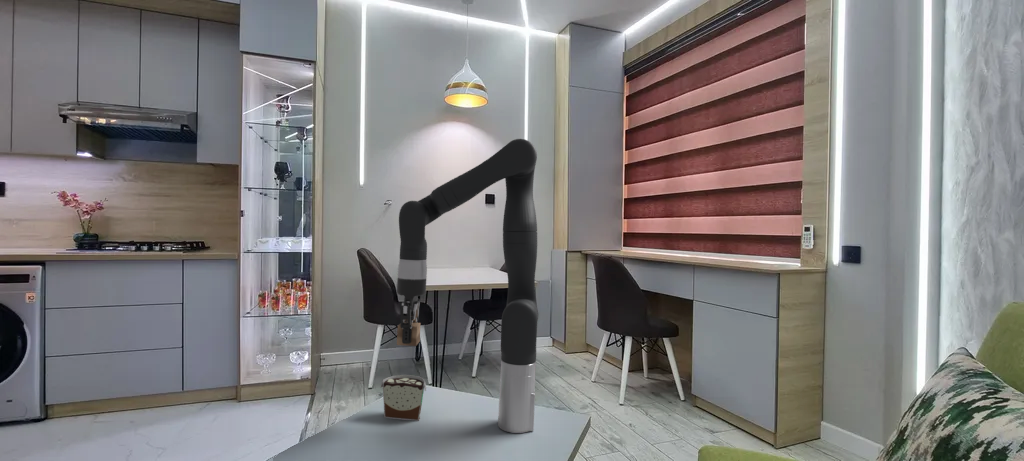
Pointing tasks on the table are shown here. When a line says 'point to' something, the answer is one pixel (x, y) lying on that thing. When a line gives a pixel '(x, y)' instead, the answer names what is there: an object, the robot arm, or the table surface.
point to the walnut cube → (414, 337)
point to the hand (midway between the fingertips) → (408, 340)
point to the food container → (403, 397)
